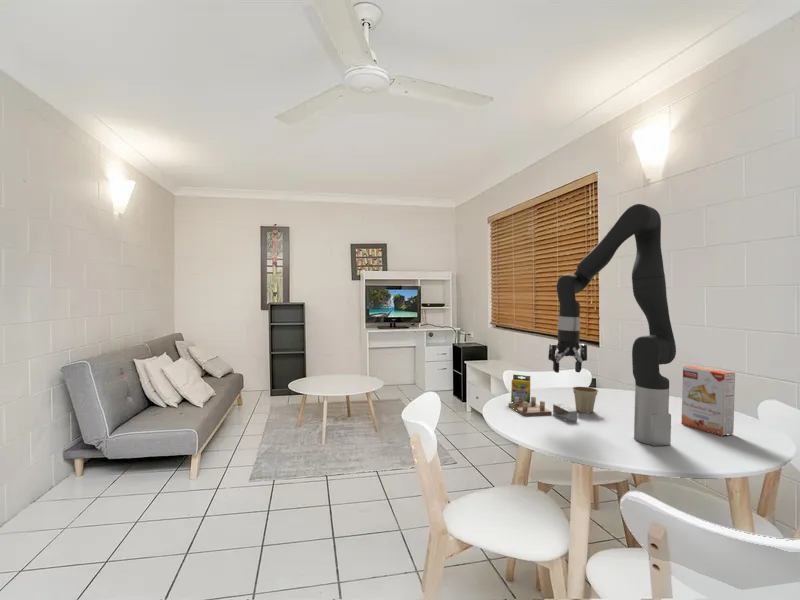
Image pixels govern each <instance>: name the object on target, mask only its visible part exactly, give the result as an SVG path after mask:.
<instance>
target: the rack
mask: <svg viewBox="0 0 800 600" xmlns="http://www.w3.org/2000/svg"><path fill="white" fill-rule="evenodd" d="M536 401H537V397H536V396H530V402H523V403H519V398H518V397H515V399H514V403H511V402H508V405H509V406H510V407H509V406H508V407H509V408H511V407H512V408H514V409H515V410H514V409H513V410H514V411H516V410H517V411H519V412H520V413H519V412H518V413H519V414H521V413H522V414H523V415H522V414H521V415H522V416H524V415H536V416H551V415H552V414H553V411H551V410H549V409H548V408H546V401H544V400H540V401H539V404H538V403H537V402H536ZM512 408H511V409H512ZM517 411H516V412H517Z"/></svg>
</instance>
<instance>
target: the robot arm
mask: <svg viewBox="0 0 800 600" xmlns="http://www.w3.org/2000/svg"><path fill="white" fill-rule="evenodd" d="M661 232H662V219H661V215H660V212H659V211H658V210H656V209H655V208H653V207H652V206H648V205H646V204H644V203H635V204H632V205H631V206H629V207H627V208H626V209H625V210H624V211H623V213H621V215H620V216H619V218H618V219H617V220H616V222H615V223H614V224H613V226H612V227H611V228H610V229H609V230H608V232H607V234H606V235H604V236H603V238H602V239H601V240H600V241H599V243H598V244H596V246H595V247H593V249H592V250H591V251H590V252H589V253H588V254H586V255H585V257H583V258H582V259H581V260H580V261H579V263H577V265H576V269H577V270H576V271H574V273H573V274H563V275H561V276H560V277H559V278H558V279H557V283H556V291H557V292H556V293H557V298H558V303H559V314H558V315H559V317H558V323H557V324H558V325H557V344H554V343H550V344H549V345H548V346H549V347H548V357H547V358H548V359H547V360H549V361H552V362H553V363H552V369H553V371H554V373H560V361H561V360H562V359H564V357H573V358H574V359H575V366H574V367H575V368H574V369H575V372H576V373H580V372H581V371H582V366H583V365H582V363H583V362H584V361H587V360H588V345H587V344H585V343H579V342H580V340H581V339H580V337H581V334H580V333H581V332H580V331H581V320H580V319H581V318H580V314H581V304H580V302H579V301H578V300H577V299H576V294H579V293H580V292H582V291H583V290H584V289H585V288H586V287H588V286H589V284H590V282H591V281H592V280H593V278H594V277H595V276H596V275H597V274H598V273H600V272H601V271H602V270H603V269H605V267H606V266H607V265H608V264H609V263H610V262H611V260H612V259H613V257H614V255H615V254H616V252H617V250H618V249H619V248H620V247H621V245H622V244H624V242H625V241H626V240H628V239H629V238H630V237H632V236H634V239H635V247H636V254H635V255H636V256H635V260H634V263H633V266H632V271H631V284H632V293H633V296H634V299H635V302H636V303H637V304H638V306H639V308H640V309H641V311H642V313H643V314H644V316H645V318H646V321H647V323H648V324H647V325H648V333H649V334H648V335H641V336H638V337H637V338H635V340H634V342H633V344H632V349H631V359H632V360H631V361H632V365H631V366H632V375H633V378H634V382H635V383H634V388H635V389H634V420H633V422H634V427H633V428H634V429H633V439H634V440H635V441H637V442H639V443H641V444H644V445H645V444H646V445H651V446H653V447H656V446H657V447H659V446H670V445H671V442H672V441H671V439H672V438H671V436H672V414H671V413H670V412H669V411H670V409H669V407H670V405H669V404H670V379H669V378H667V377H666V376H664V375H662V374H661V373H660V365H661V366H662V365H667V364H670V363H672V362H673V361H674V359H675V358H676V355H677V346H676V340H675V337H674V332H673V327H672V323H671V318H670V310H669V304H668V297H667V283H666V275H665V270H664V269H665V268H664V259H663V253H662V243H661V241H662V239H661V238H662V237H661V235H662V233H661ZM578 351H580V353H579V352H578Z"/></svg>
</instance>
